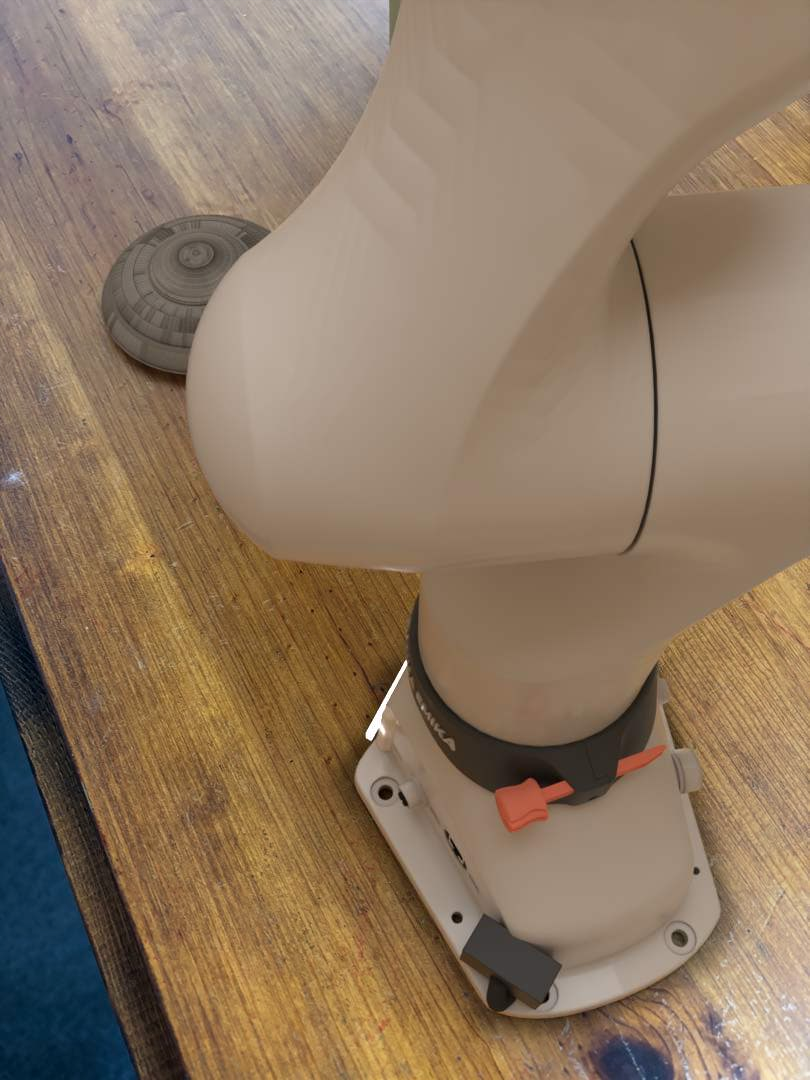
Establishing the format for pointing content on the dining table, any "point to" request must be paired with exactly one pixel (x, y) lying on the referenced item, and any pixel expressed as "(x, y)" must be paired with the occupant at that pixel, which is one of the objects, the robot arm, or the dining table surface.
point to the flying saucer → (171, 285)
